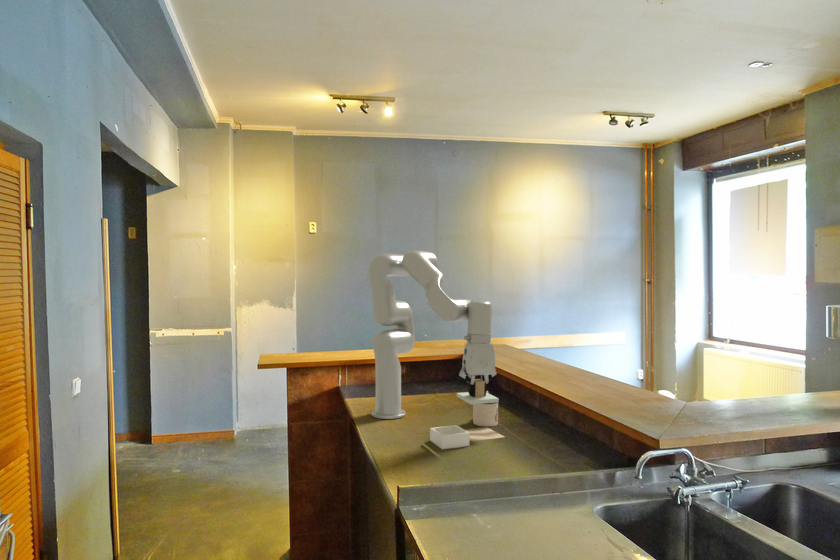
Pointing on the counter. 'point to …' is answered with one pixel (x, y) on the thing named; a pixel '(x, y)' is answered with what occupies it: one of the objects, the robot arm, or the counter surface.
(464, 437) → the white open square tray
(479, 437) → the mat
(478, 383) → the lid
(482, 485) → the counter surface
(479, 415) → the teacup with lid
